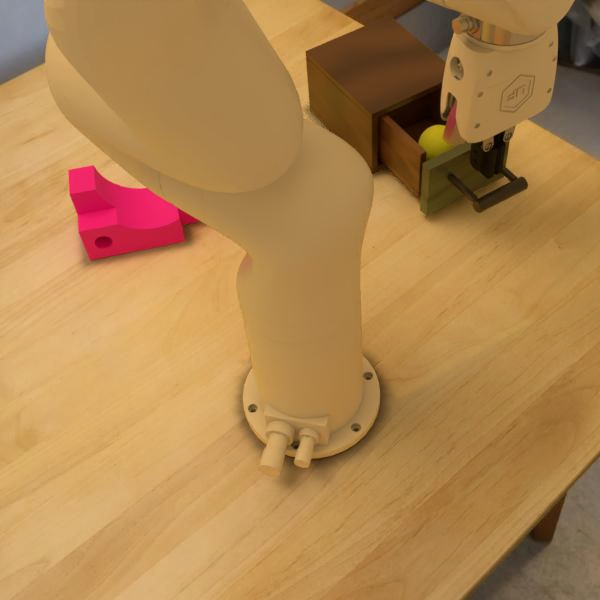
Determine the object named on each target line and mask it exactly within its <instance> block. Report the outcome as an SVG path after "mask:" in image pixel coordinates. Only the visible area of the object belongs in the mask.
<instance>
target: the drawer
mask: <svg viewBox="0 0 600 600" xmlns="http://www.w3.org/2000/svg"><path fill="white" fill-rule="evenodd" d="M441 92H442V88H440V89H438V90H436V91H434V92H431V93H429V94H427V95H425V96H423V97H421V98H418V99H416V100H414V101H412V102H410V103H408V104H405V105H403V106H401V107H399V108H397V109H395V110H392V111H390V112H388V113H386V114H384V115H382V116H379V117H377V118H378V158H379V159H380V160H381V161H382V162H383V163H384V164H385V165H386V166H387V167H386V168H387V169H388V170H390V172H392V174H394V175H395V177H397V179H399V180H400V182H401V183H402V184H403V185H404V186H405V187H407V189H409V191H411V192H412V194H414V196H416V198H418V199H420V206H419V211H420V212H421V213H422V214H424V216H425V217H428V216H431V215H433V214H434V213H437V212H438V211H440V210H443V209H444V208H447V207H448V206H450V205H452V204H454V203H456V202H458V201H461V200H462V199H464V198H467V199H468V201H470V202H471V204H472V205H471V206H472V208H473V210H474V211H475V212H476V214H481V213H483V212H485V211H487V210H489V209H490V208H493V207H494V206H496V205H499V204H500V203H502V202H504V201H506V200H508V199H510V198H512V197H514V196H516V195H518V194H520V193H522V192H523V191H525V190H527V189H528V187H529V183H528V180H527V179H526V178H525V177H524V176H519V177H518V175H515V174H514V173H513V172H512V171H511V170H510V169H509V168H508V167H507V160H508V156H509V155H508V154H509V147H510V142H511V139H510V140H509V141H507V142H506V143H505V144H506V148H505V154H504V161H503V168H502V172H501V173H500V174H498V175H496V174H494V175H493V177H492V178H490V179H487V178H486V177H484V176H483V175H482V174H481V173H480V172H479V171H476V170H475V169H474V168H473V167H472V166H471V164H470V151H471V143H468V142H465V143H464V144H460V145H459V146H457V147H455V148H453V149H451V150H449V151H447V152H445V153H443V154H441V155H439V156H436V157H434V158H432V159H430V160H428V161H426V151H425V150H424V149H423V148H422V147H421V146H420V145H419V144H418V142H419V139H420V136H421V135H422V133H423V132H424V131H425V130H426V129H427V128H429V127H431V126H434V125H444V126H446V123H447V121H444V120H442V118H441V110H440V109H441ZM504 178H506V179H507V180H508V181H509V182H507V183H504V184H503V185H501V186H500V187H497V188H496V189H493V190H492V191H489V192H488V193H485V194H484V195H482V196H480V197H478V196H477V194H475V193H477V192H478V191H480V190H482V189H484V188H486V187H488V186H490V185H492V184H494V183H496V182H497V181H499V180H501V179H504Z"/></svg>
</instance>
